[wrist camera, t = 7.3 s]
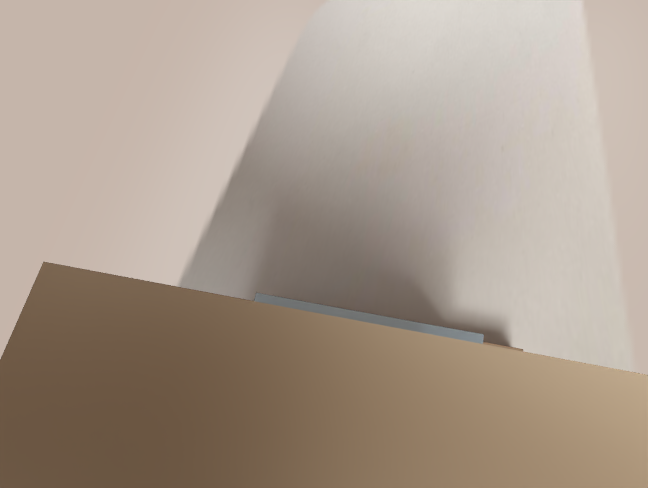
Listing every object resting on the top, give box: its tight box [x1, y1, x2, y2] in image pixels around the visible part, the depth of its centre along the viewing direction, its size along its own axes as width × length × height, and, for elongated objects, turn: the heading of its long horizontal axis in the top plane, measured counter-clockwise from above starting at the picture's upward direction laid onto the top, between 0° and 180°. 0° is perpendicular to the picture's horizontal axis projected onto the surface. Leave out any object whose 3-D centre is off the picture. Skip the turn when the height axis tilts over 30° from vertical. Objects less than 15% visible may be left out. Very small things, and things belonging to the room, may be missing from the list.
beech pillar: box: [0, 262, 648, 488], centre depth 8 cm, size 4×4×12 cm
